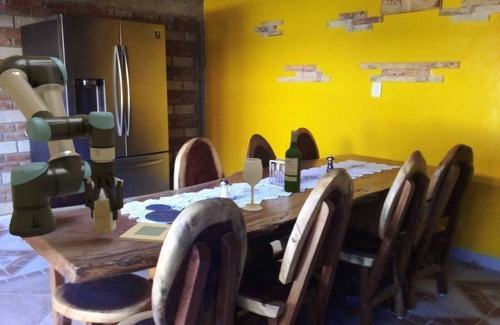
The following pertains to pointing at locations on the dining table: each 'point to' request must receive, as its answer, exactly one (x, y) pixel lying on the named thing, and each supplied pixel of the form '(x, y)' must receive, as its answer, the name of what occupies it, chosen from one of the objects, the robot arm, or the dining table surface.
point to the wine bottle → (292, 166)
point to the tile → (146, 232)
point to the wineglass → (252, 179)
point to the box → (102, 216)
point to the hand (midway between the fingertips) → (104, 228)
